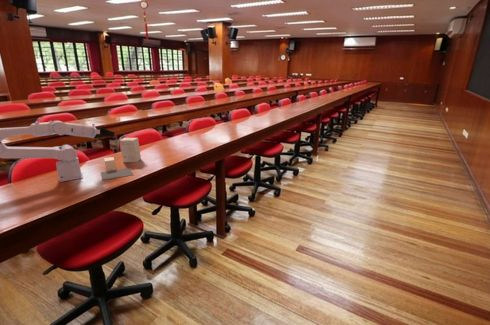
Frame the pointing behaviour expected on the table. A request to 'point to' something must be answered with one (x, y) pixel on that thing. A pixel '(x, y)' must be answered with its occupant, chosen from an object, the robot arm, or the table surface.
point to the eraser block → (110, 164)
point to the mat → (116, 173)
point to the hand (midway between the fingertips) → (112, 134)
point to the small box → (130, 149)
